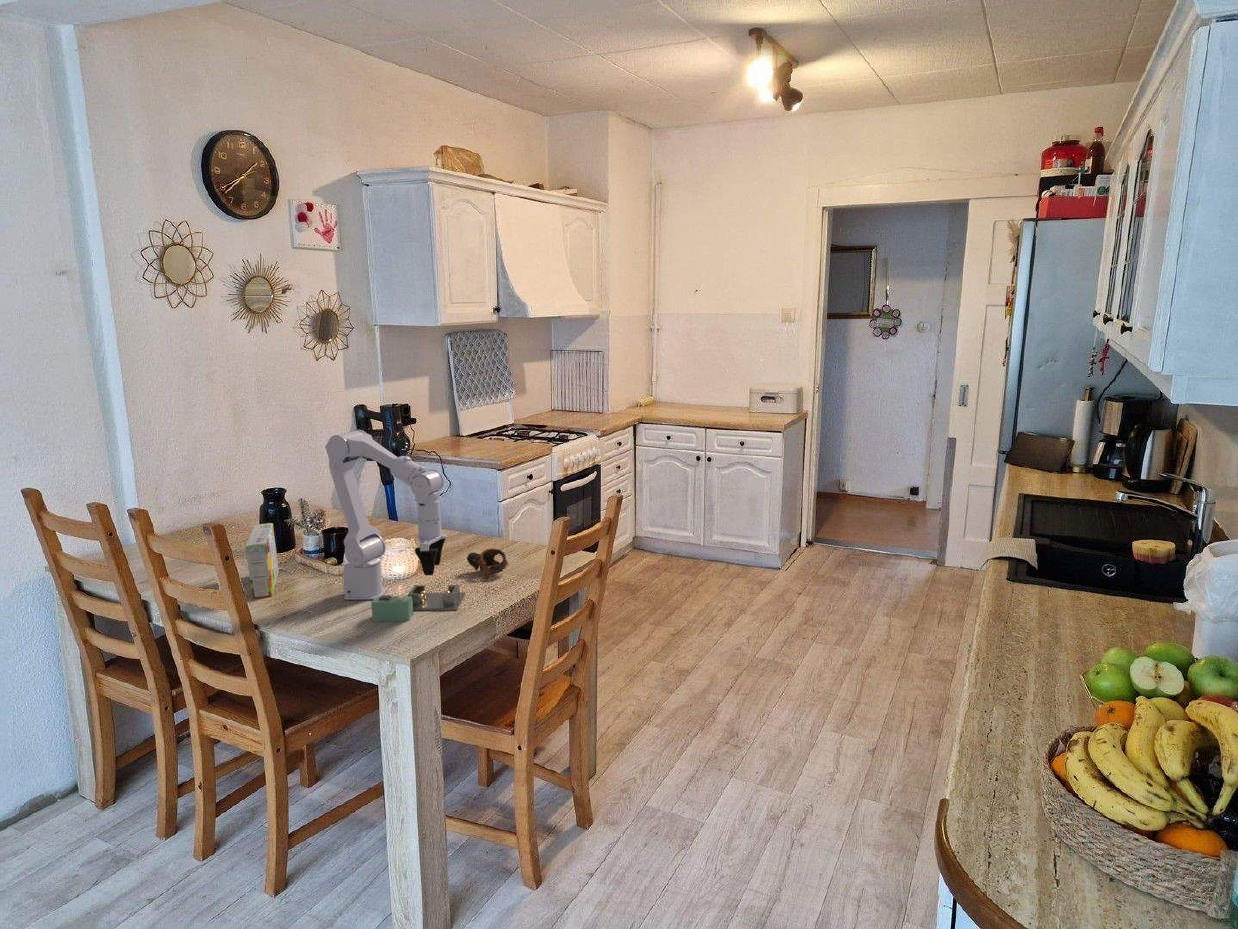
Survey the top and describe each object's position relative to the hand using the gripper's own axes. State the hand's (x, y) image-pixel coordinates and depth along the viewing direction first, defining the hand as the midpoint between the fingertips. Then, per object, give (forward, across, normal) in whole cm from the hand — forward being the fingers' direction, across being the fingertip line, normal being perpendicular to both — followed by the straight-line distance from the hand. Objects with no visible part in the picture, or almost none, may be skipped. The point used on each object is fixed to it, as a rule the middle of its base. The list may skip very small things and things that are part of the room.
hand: (432, 569), depth 206 cm
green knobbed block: (+10, -8, +8) cm, 15 cm away
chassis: (+10, +2, 0) cm, 10 cm away
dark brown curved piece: (+10, +24, -10) cm, 28 cm away
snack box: (+10, +17, +51) cm, 55 cm away
